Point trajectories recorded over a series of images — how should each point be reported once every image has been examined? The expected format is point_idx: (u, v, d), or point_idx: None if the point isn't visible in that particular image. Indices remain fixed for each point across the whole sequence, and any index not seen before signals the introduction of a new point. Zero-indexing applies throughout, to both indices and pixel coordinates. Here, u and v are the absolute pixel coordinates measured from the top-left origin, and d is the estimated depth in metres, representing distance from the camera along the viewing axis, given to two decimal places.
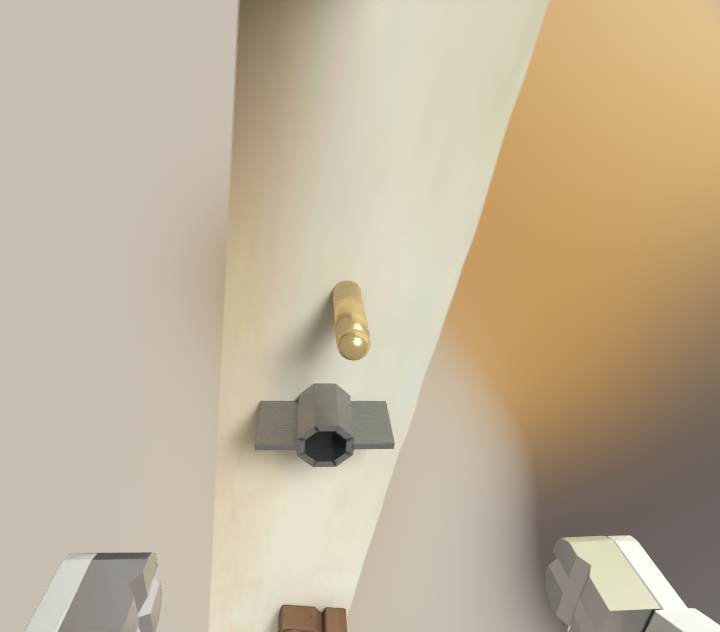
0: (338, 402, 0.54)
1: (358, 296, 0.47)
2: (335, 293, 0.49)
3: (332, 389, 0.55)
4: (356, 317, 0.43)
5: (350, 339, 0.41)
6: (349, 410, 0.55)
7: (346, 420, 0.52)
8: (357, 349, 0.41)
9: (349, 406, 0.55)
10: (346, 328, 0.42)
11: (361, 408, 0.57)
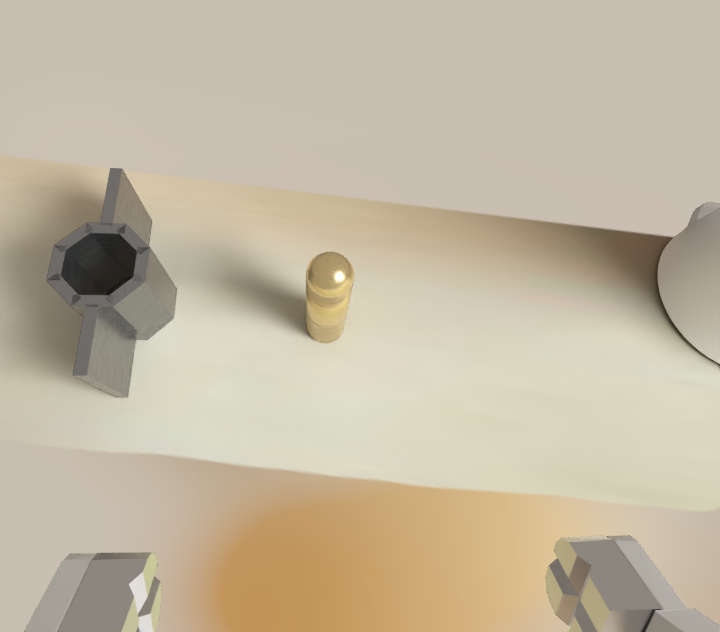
0: (159, 305, 0.35)
1: (342, 324, 0.36)
2: None
3: (170, 308, 0.37)
4: (350, 293, 0.32)
5: (347, 263, 0.29)
6: (138, 323, 0.34)
7: (137, 305, 0.32)
8: (337, 268, 0.29)
9: (141, 327, 0.35)
10: None
11: (127, 351, 0.35)
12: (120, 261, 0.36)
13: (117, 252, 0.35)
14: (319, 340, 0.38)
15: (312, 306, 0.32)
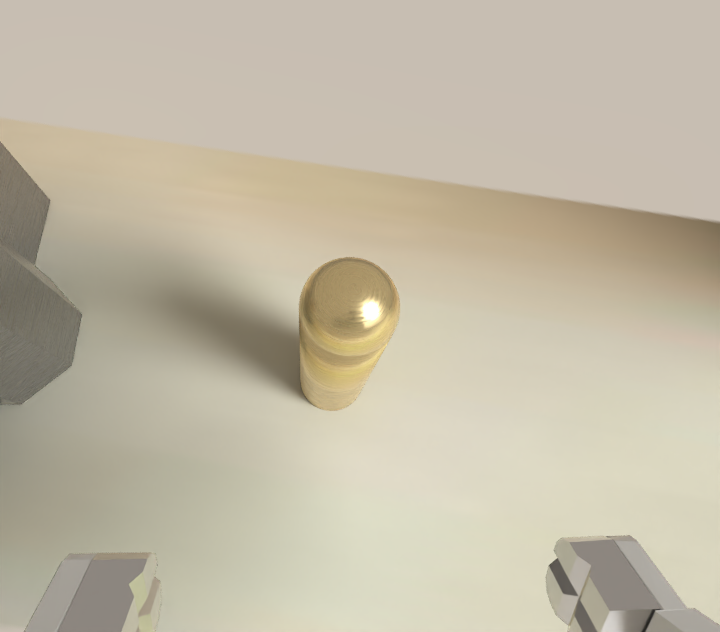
0: (30, 349, 0.19)
1: (362, 386, 0.20)
2: None
3: (62, 349, 0.21)
4: None
5: (388, 282, 0.14)
6: None
7: None
8: (367, 294, 0.13)
9: None
10: None
11: None
12: None
13: None
14: (321, 407, 0.22)
15: (311, 363, 0.16)
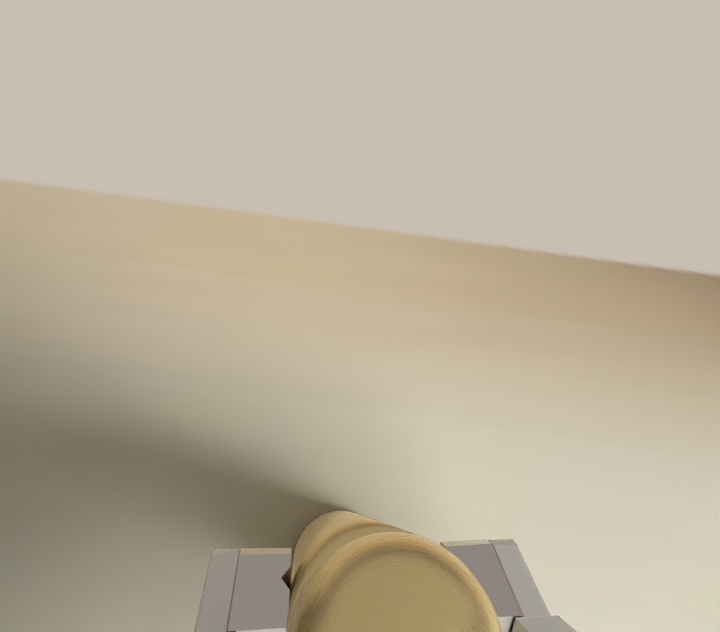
0: None
1: None
2: None
3: None
4: None
5: (489, 631, 0.06)
6: None
7: None
8: None
9: None
10: None
11: None
12: None
13: None
14: None
15: None
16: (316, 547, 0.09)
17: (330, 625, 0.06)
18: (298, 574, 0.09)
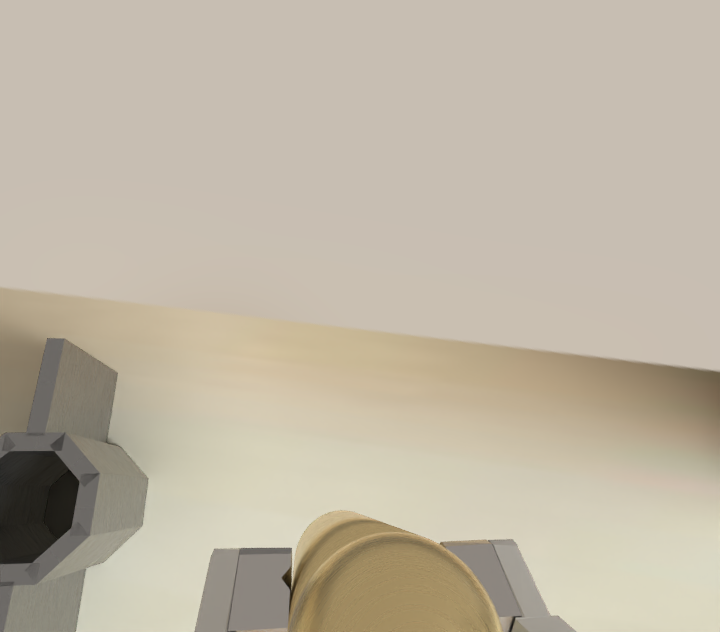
0: (117, 533, 0.24)
1: None
2: None
3: (137, 518, 0.26)
4: None
5: (490, 631, 0.06)
6: (86, 563, 0.23)
7: (79, 557, 0.22)
8: None
9: (91, 563, 0.24)
10: None
11: (71, 595, 0.24)
12: None
13: (58, 455, 0.24)
14: None
15: None
16: (317, 547, 0.09)
17: (331, 625, 0.06)
18: (300, 574, 0.09)
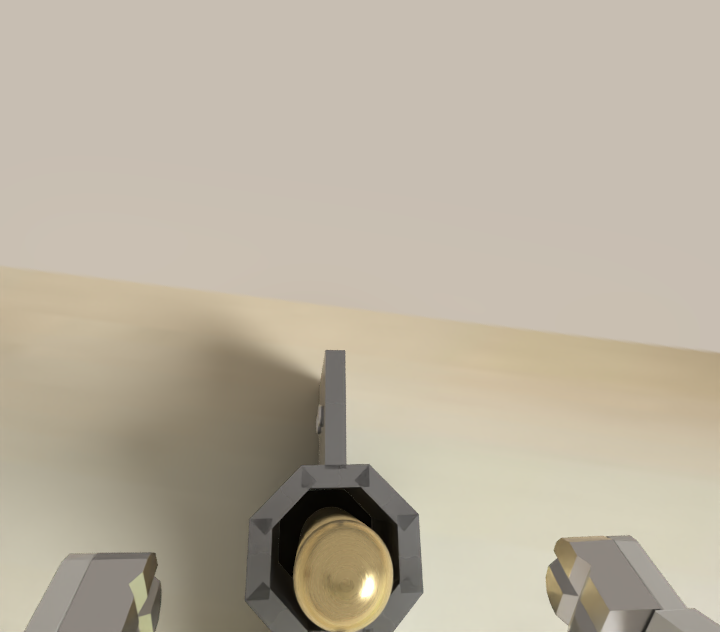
0: None
1: None
2: None
3: None
4: None
5: (381, 562, 0.14)
6: None
7: None
8: (360, 589, 0.13)
9: None
10: None
11: None
12: (318, 489, 0.21)
13: None
14: None
15: None
16: (310, 527, 0.17)
17: (312, 558, 0.14)
18: (300, 541, 0.16)
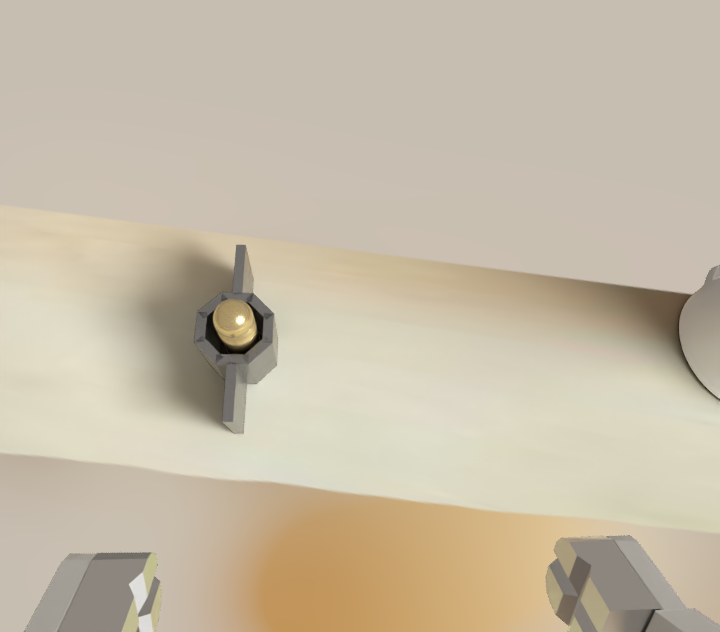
0: (272, 358, 0.42)
1: None
2: None
3: (276, 357, 0.44)
4: (255, 332, 0.38)
5: (246, 309, 0.35)
6: (256, 373, 0.41)
7: (261, 360, 0.40)
8: (235, 314, 0.35)
9: (256, 376, 0.42)
10: None
11: (244, 395, 0.42)
12: None
13: None
14: None
15: (222, 341, 0.38)
16: None
17: (219, 306, 0.35)
18: None
